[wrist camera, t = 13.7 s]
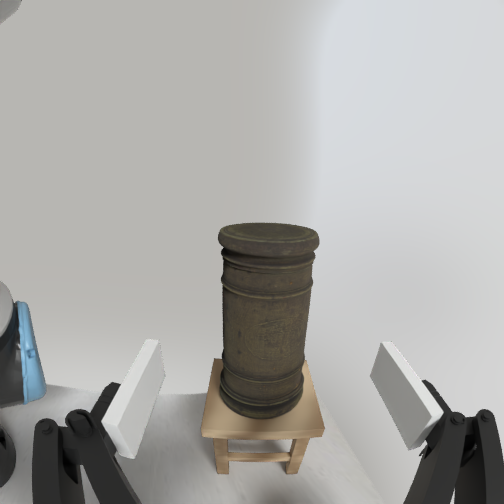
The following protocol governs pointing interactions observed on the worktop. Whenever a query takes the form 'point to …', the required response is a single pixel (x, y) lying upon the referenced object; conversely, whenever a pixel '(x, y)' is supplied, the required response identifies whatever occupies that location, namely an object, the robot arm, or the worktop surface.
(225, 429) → the stool
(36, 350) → the robot arm
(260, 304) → the container
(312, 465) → the worktop surface
